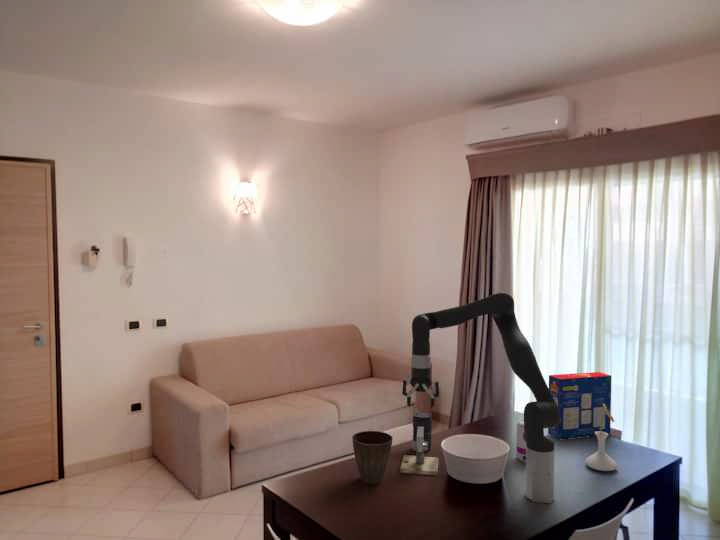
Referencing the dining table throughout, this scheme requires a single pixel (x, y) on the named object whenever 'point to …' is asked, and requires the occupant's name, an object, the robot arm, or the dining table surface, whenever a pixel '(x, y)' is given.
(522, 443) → the supplement can
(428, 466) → the post base
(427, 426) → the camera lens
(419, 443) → the collar
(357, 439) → the plant pot
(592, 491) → the dining table surface
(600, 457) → the flower in vase
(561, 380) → the blue product box
